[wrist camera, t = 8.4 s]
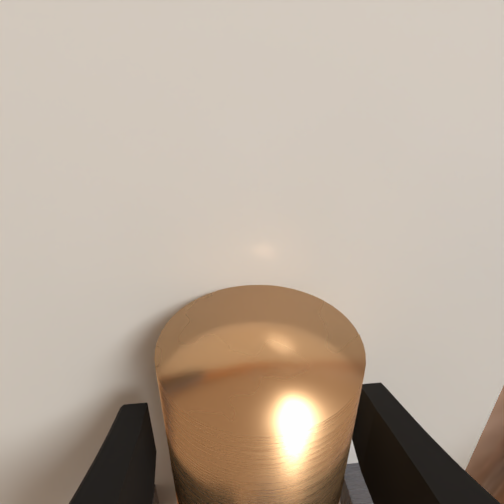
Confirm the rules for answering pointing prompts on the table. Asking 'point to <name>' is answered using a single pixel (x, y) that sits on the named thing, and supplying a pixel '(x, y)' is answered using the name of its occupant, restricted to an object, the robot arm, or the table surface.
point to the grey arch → (353, 491)
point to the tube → (259, 396)
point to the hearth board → (243, 202)
